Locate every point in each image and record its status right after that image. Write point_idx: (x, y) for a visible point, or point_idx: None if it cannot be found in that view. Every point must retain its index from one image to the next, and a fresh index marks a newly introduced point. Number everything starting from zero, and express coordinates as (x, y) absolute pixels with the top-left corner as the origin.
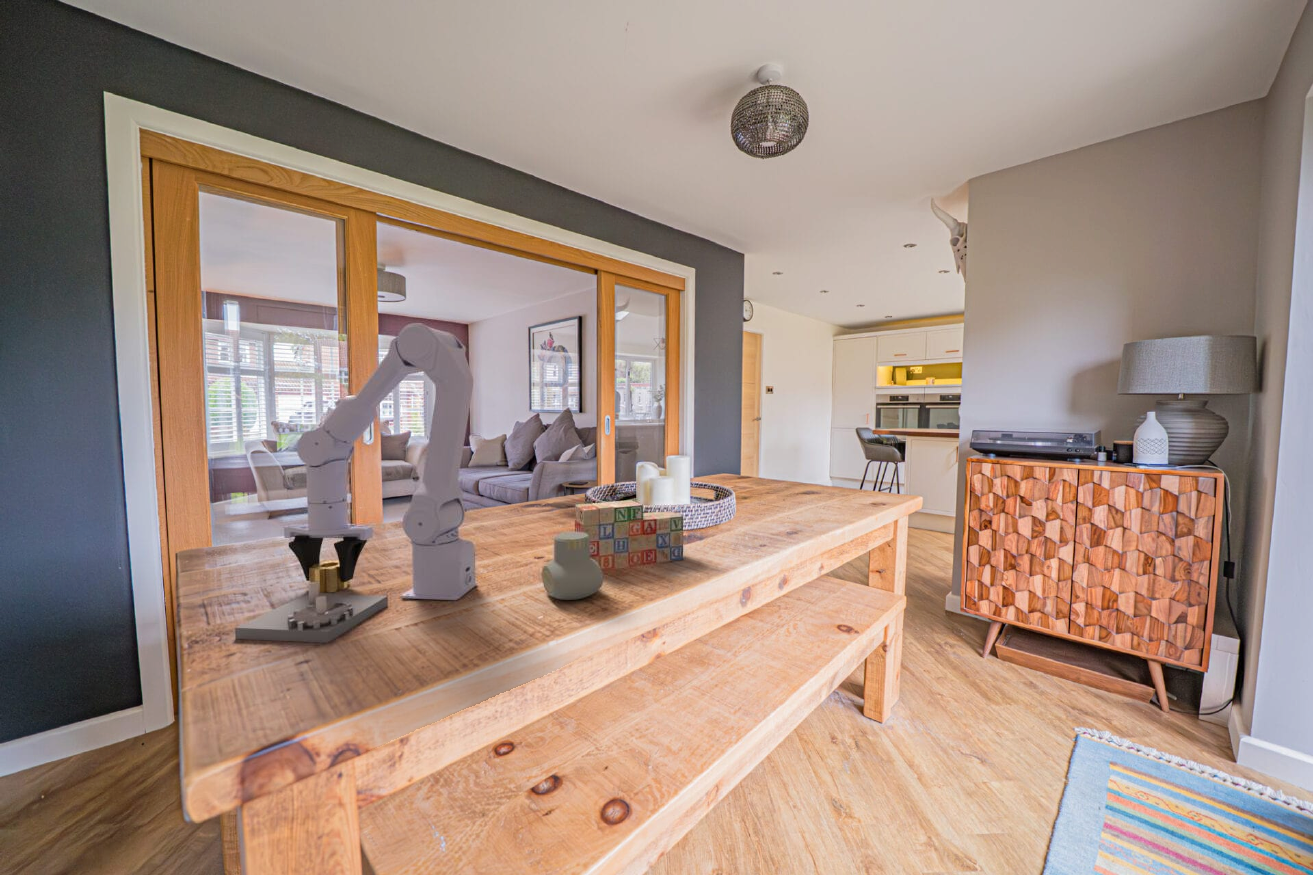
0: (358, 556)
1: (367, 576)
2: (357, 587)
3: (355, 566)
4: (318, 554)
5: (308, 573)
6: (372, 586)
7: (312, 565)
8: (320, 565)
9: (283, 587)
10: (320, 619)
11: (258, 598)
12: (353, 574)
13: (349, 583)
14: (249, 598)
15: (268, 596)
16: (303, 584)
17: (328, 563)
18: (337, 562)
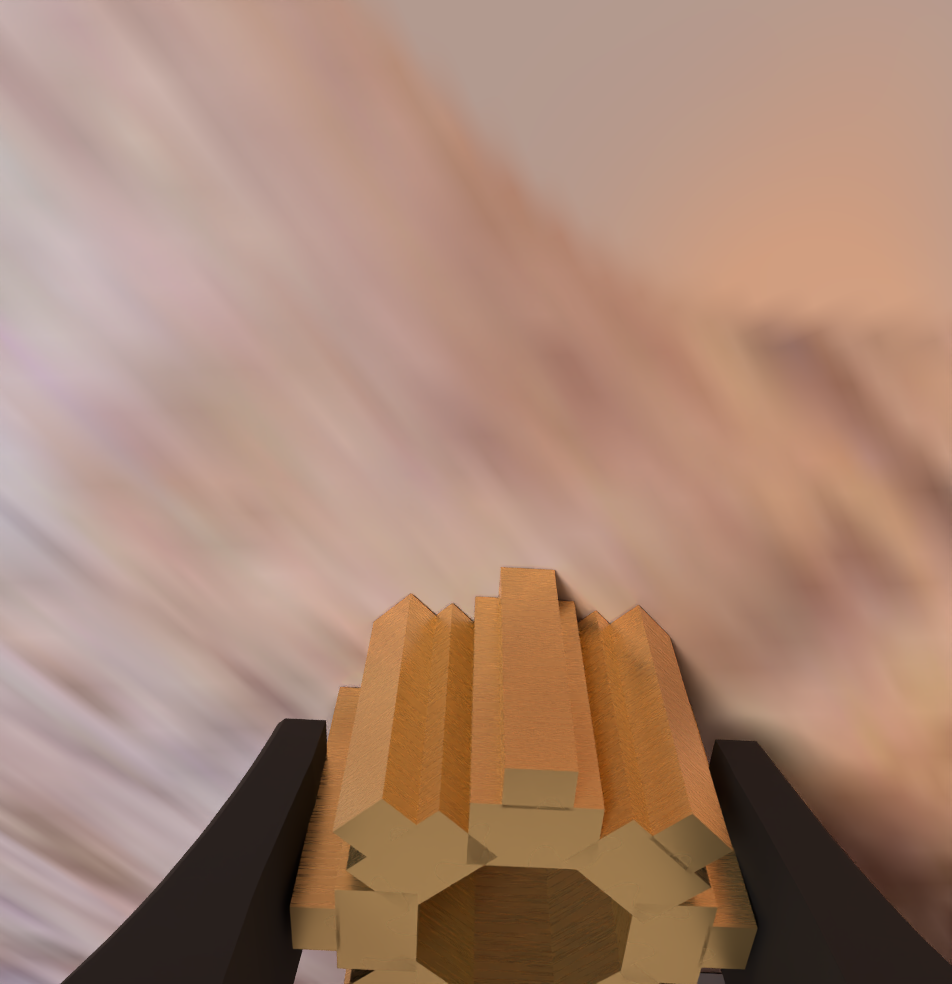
0: (937, 964)
1: (737, 355)
2: (794, 695)
3: (834, 843)
4: (245, 958)
5: None
6: (944, 667)
7: (303, 943)
8: (416, 950)
9: (32, 715)
10: None
11: (88, 916)
12: (778, 771)
13: (672, 647)
14: (15, 918)
15: (125, 885)
16: (153, 638)
17: (454, 877)
18: (570, 866)
